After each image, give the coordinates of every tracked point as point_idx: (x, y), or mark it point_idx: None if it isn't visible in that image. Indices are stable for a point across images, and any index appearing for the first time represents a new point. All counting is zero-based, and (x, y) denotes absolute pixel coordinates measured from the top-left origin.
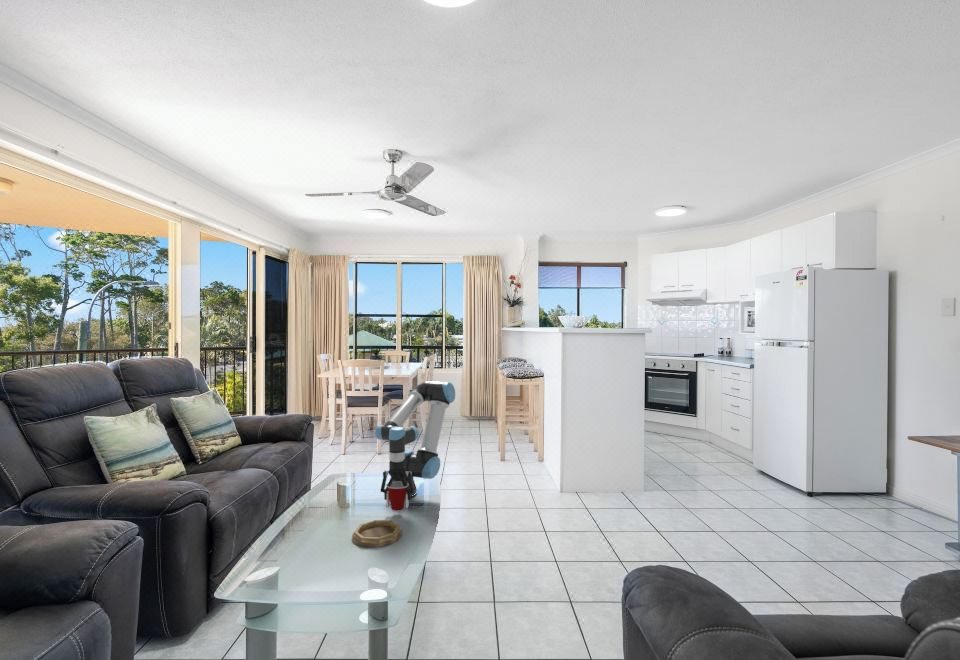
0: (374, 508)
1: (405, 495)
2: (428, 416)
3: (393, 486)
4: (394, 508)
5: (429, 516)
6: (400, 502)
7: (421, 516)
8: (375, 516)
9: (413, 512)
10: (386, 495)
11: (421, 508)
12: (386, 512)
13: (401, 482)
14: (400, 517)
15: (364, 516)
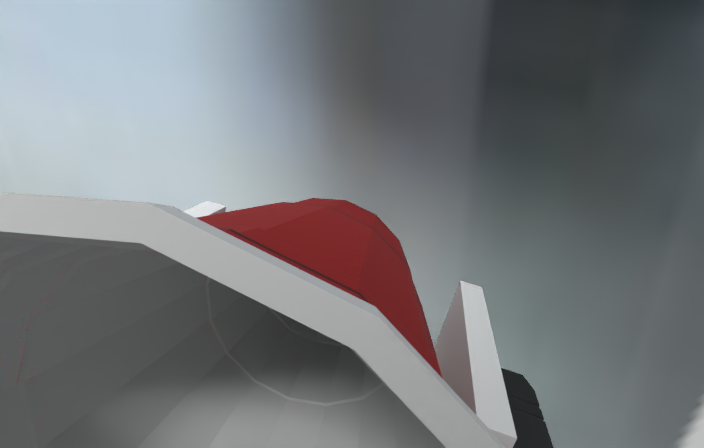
0: (98, 17)
1: (430, 438)
2: None
3: (52, 263)
4: (292, 344)
5: (698, 374)
6: (348, 423)
7: (603, 350)
8: None
9: (531, 224)
10: None
11: (665, 117)
12: (235, 160)
13: (249, 294)
14: None
15: None
